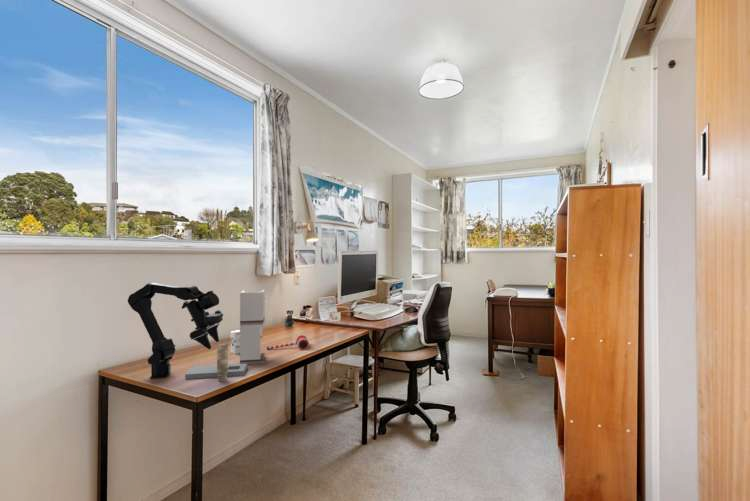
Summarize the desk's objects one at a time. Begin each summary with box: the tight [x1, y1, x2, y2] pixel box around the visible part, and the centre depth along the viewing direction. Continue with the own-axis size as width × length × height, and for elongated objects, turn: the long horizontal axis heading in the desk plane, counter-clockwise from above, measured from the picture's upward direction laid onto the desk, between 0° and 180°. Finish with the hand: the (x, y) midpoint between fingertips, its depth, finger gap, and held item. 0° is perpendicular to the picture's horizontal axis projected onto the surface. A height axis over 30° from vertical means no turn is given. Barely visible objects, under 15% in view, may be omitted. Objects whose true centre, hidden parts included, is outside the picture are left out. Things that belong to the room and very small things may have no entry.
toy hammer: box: [266, 334, 310, 351], centre depth 210 cm, size 23×12×6 cm, turn 107°
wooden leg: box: [216, 343, 229, 382], centre depth 158 cm, size 4×4×15 cm
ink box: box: [230, 329, 240, 355], centre depth 202 cm, size 9×5×12 cm, turn 138°
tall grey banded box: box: [239, 289, 266, 365], centre depth 186 cm, size 11×11×35 cm
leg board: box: [184, 363, 248, 380], centre depth 167 cm, size 24×11×2 cm, turn 101°
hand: (214, 345), depth 163 cm, fingers open, 9 cm apart
